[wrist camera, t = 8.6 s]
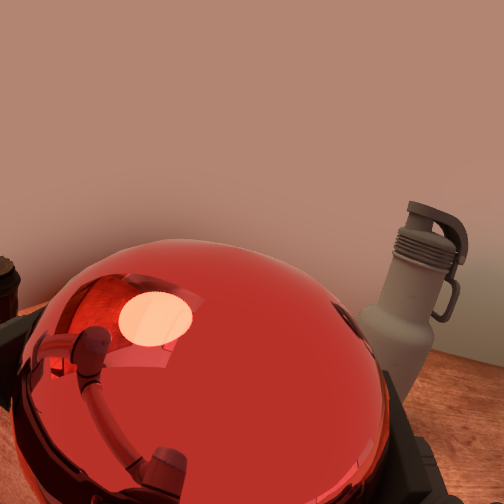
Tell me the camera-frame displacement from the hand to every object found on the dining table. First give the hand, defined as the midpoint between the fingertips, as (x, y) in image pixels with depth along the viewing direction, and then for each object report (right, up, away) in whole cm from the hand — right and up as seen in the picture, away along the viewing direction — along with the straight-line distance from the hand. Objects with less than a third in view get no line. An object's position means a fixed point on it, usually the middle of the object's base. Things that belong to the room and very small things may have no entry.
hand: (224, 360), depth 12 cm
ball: (-2, -7, -2) cm, 8 cm away
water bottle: (+15, -18, +23) cm, 33 cm away
